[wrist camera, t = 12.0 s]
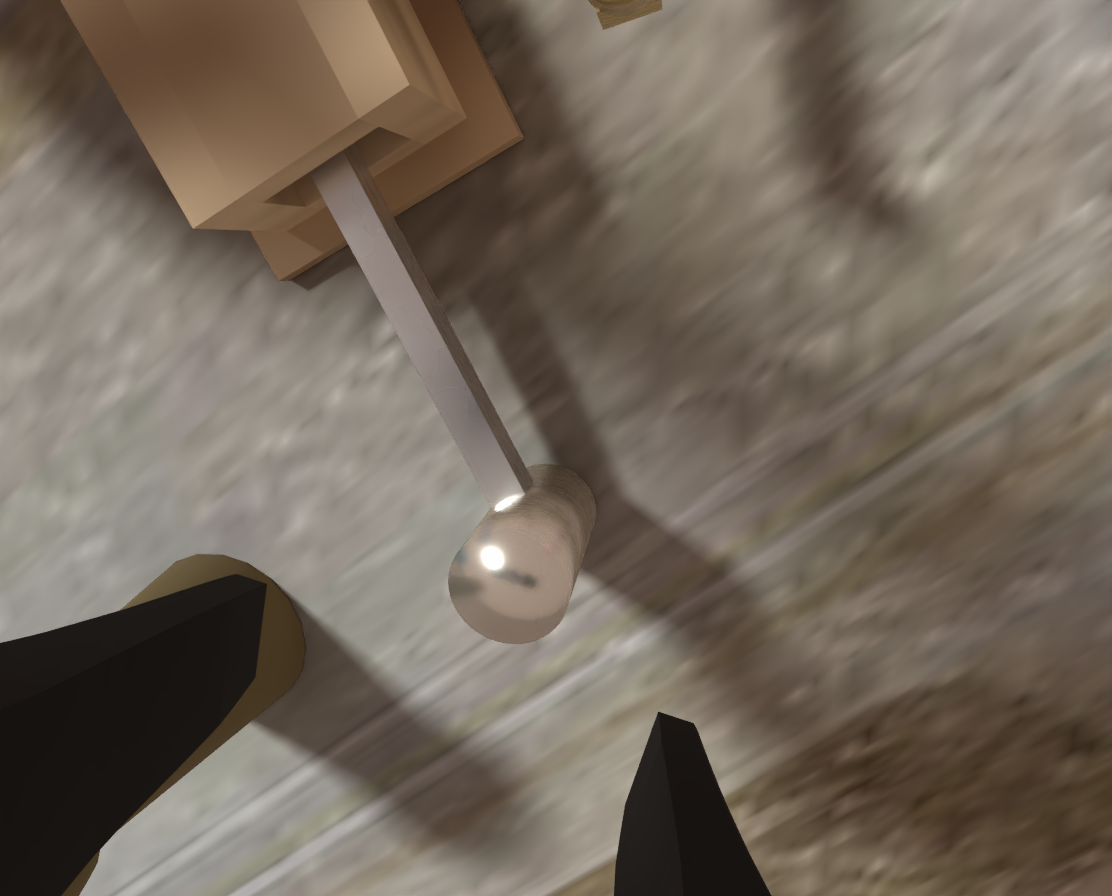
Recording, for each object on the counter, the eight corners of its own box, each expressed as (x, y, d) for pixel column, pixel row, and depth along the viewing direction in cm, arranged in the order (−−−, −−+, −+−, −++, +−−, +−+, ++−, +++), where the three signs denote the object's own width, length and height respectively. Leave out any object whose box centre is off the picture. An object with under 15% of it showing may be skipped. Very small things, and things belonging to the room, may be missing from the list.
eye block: (118, -25, 19) (-48, -103, 15) (351, -221, 17) (236, -382, 12) (289, 280, 20) (185, 289, 16) (524, 138, 18) (475, 105, 14)
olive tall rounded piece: (304, 569, 23) (-7, 835, 13) (306, 720, 25) (35, 1060, 15) (142, 540, 24) (-274, 766, 14) (155, 688, 26) (-202, 988, 15)
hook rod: (282, 110, 18) (145, 64, 14) (366, 52, 18) (251, -18, 13) (529, 566, 21) (484, 659, 16) (612, 532, 20) (590, 620, 15)
